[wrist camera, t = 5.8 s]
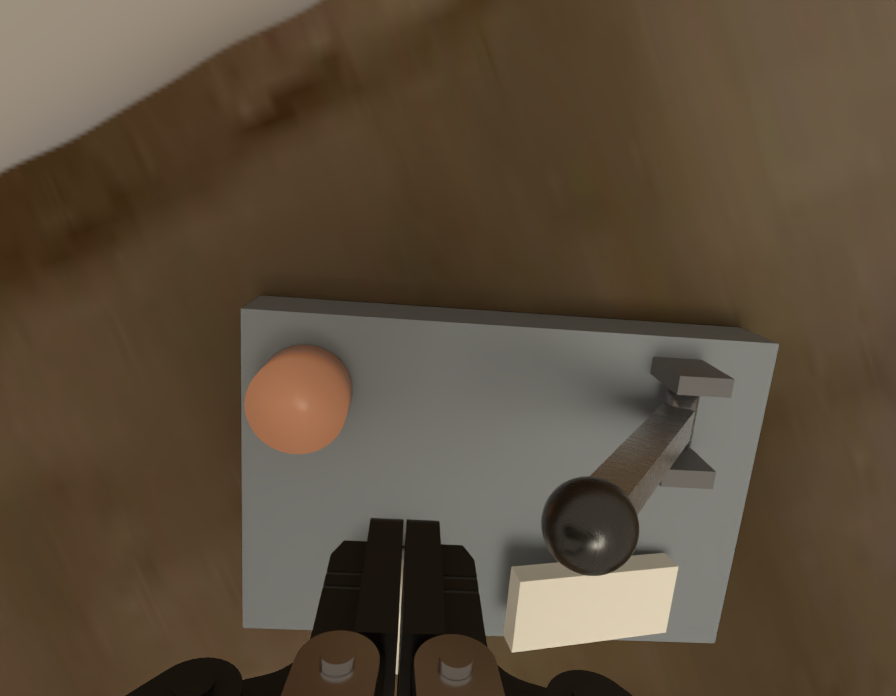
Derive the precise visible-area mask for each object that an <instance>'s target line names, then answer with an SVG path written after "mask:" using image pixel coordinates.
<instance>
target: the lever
mask: <svg viewBox="0 0 896 696" xmlns="http://www.w3.org/2000/svg"><path fill="white" fill-rule="evenodd" d="M699 399H700V396H690V395H677V394H675V393H674V392H673V391H672V390H670V389H669V388H667V394H666V399H665V404H664V403H662V404H661V405H660V406H659V407H658V408H657V409H656V410H655V411H654V412H653V413H652V414H651V415H650V416H649V417H648V418H647V419H646V420H645V421H644V422H643V423H642V424H641V425H640V426H639V427H638V428H637V429H636V430H635V431H634V432H633V433H632V434H631V435H630V436H629V437H628V438H627V439H626V440H625V441H624V442H623V443H622V444H621V445H620V446H619V447H618V448H617V449H616V450H615V451H614V452H613V453H612V454H611V455H610V456H609V457H608V458H607V459H606V460H605V461H604V462H603V463H602V464H601V465H600V466H599V467H598V468H597V469H596V470H595V471H594V472H593V473H592V474H591V475H590V476H584V477H577V478H573V479H570V480H568V481H566V482H564V483H562V484H561V485H560V486H558V487H557V488H556V489H555V490H554V491H553V492H552V493H551V495H550V496H549V497H548V499H547V501H546V503H545V505H544V508H543V512H542V517H541V529H542V535H543V539H544V542H545V544H546V546H547V548H548V550H549V551H550V553H551V554H552V556H553V557H554V558H555V559H556V560H557V561H558V562H559V563H560V564H561V565H562V566H564V567H565V568H567V569H569V570H571V571H573V572H575V573H578V574H581V575H585V576H601V575H606V574H609V573H611V572H614V571H616V570H617V569H619V568H620V567H622V566H623V565H624V564H625V563H626V562H627V561H628V560H629V559H630V557H631V556H632V554H633V553H634V551H635V548H636V546H637V543H638V539H639V520H638V513H639V512H640V511H641V509H642V508H643V506H644V505H645V503H646V502H647V501H648V499H649V498H650V496H651V495H652V493H653V492H654V491H655V489H656V488H657V486H658V485H659V483H660V482H661V481H662V479H663V478H664V476H665V475H666V474H667V472H668V471H669V469H670V468H671V466H672V465H673V464H674V462H675V461H676V459H677V458H678V456H679V455H680V454H681V452H682V451H686V450H689V449H690V447H691V442H692V436H693V431H694V426H695V420H696V415H697V410H698V404H699Z"/></svg>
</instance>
